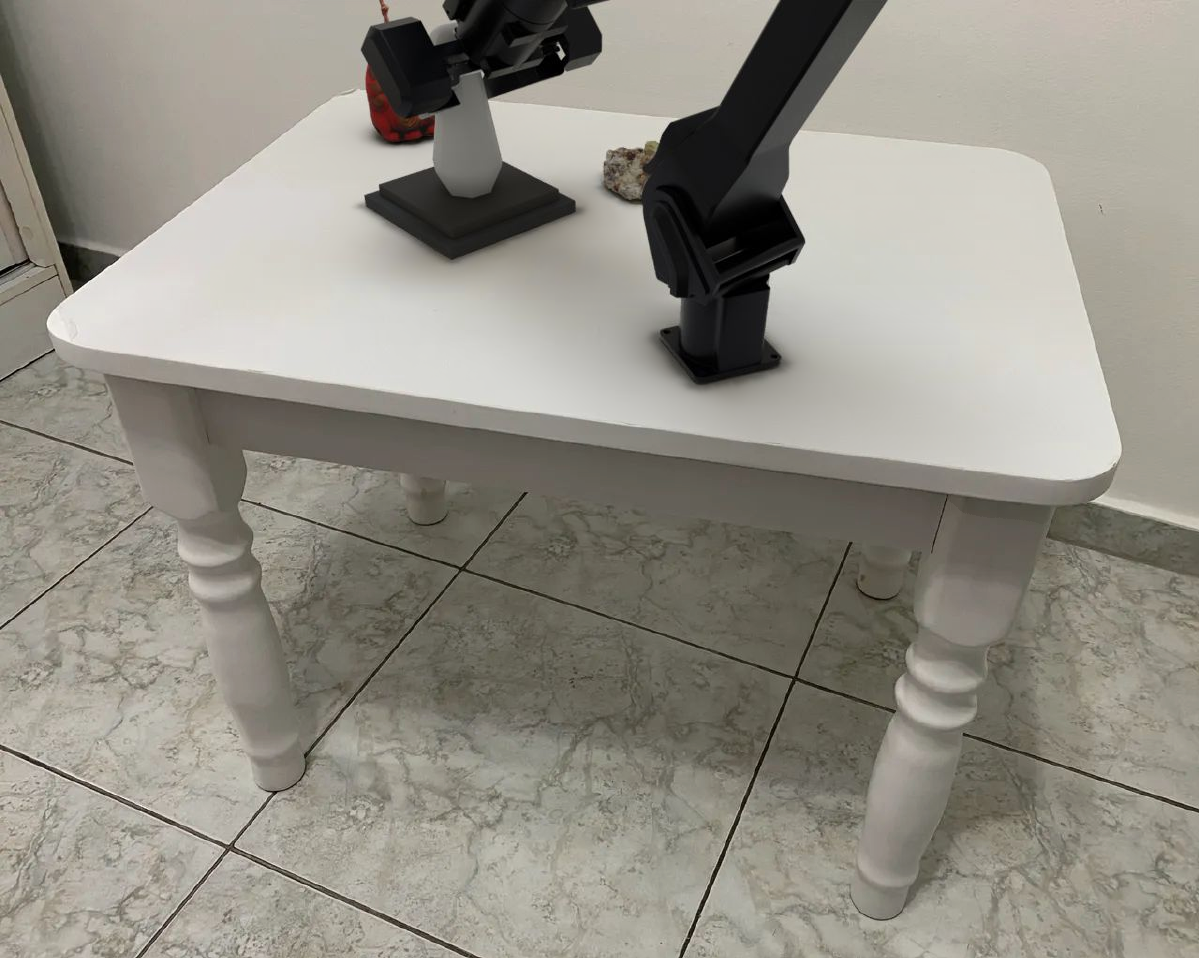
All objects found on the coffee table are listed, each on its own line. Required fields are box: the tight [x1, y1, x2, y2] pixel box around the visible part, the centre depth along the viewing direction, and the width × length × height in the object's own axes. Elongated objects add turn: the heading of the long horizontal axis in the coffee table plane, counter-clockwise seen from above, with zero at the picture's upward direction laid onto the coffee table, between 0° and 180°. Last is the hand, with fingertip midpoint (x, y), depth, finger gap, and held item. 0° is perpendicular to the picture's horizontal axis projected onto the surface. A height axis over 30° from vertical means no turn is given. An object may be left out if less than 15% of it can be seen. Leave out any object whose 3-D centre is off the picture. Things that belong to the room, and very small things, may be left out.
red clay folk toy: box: [364, 0, 435, 143], centre depth 95 cm, size 8×7×15 cm
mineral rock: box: [602, 140, 659, 201], centre depth 89 cm, size 11×4×8 cm
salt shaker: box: [428, 22, 503, 198], centre depth 81 cm, size 6×6×13 cm
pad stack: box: [363, 160, 577, 260], centre depth 86 cm, size 13×13×2 cm
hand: (451, 104), depth 82 cm, fingers open, 6 cm apart
